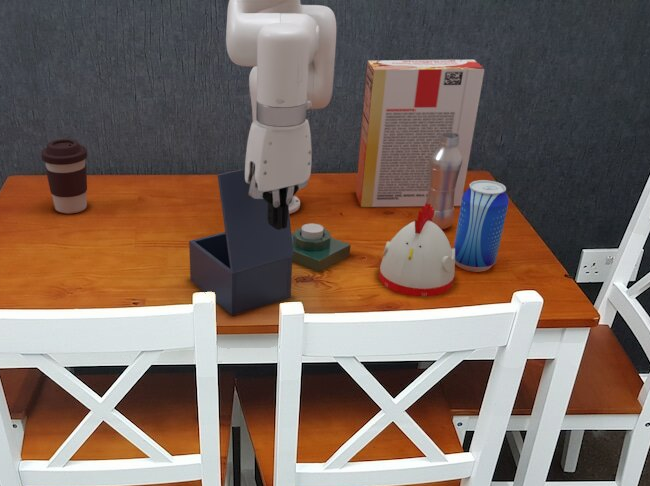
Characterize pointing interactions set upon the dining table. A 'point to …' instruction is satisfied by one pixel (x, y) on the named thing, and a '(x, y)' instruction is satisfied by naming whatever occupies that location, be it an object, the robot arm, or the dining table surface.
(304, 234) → the white button
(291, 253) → the lid
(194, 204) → the dining table surface
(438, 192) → the plastic bottle
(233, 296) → the box
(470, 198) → the beer can
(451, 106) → the cereal box
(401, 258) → the kitchen timer
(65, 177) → the coffee cup
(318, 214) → the dining table surface
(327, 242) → the push button base
